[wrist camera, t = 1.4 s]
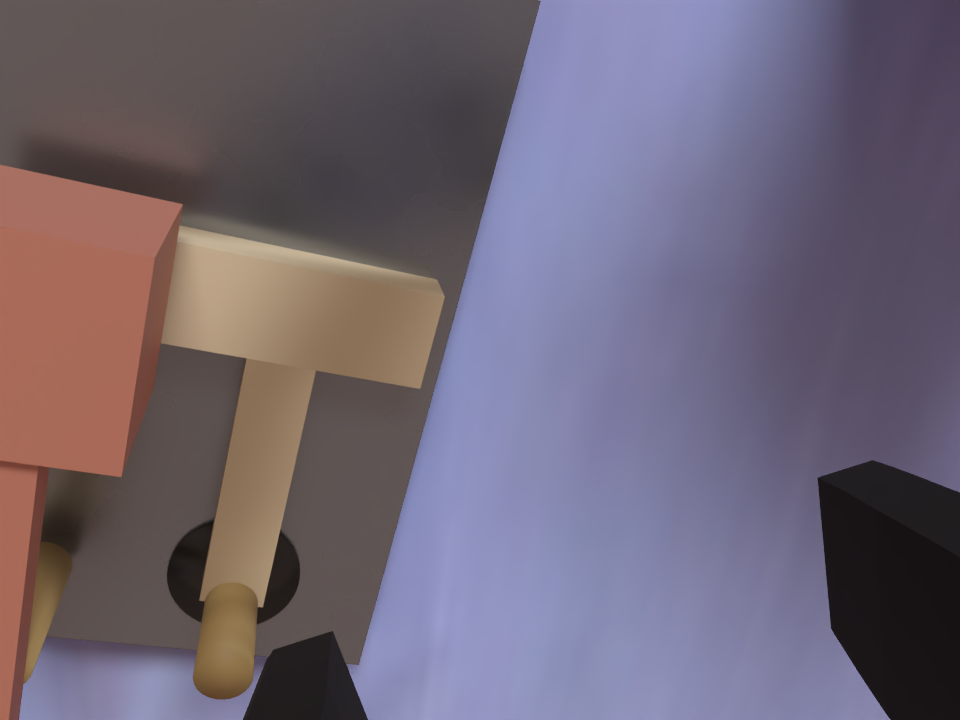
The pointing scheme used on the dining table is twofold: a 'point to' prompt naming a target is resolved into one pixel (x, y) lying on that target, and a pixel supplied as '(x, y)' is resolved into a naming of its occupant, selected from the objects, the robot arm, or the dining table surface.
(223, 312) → the beam
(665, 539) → the dining table surface
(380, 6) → the bolt plate
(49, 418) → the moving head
